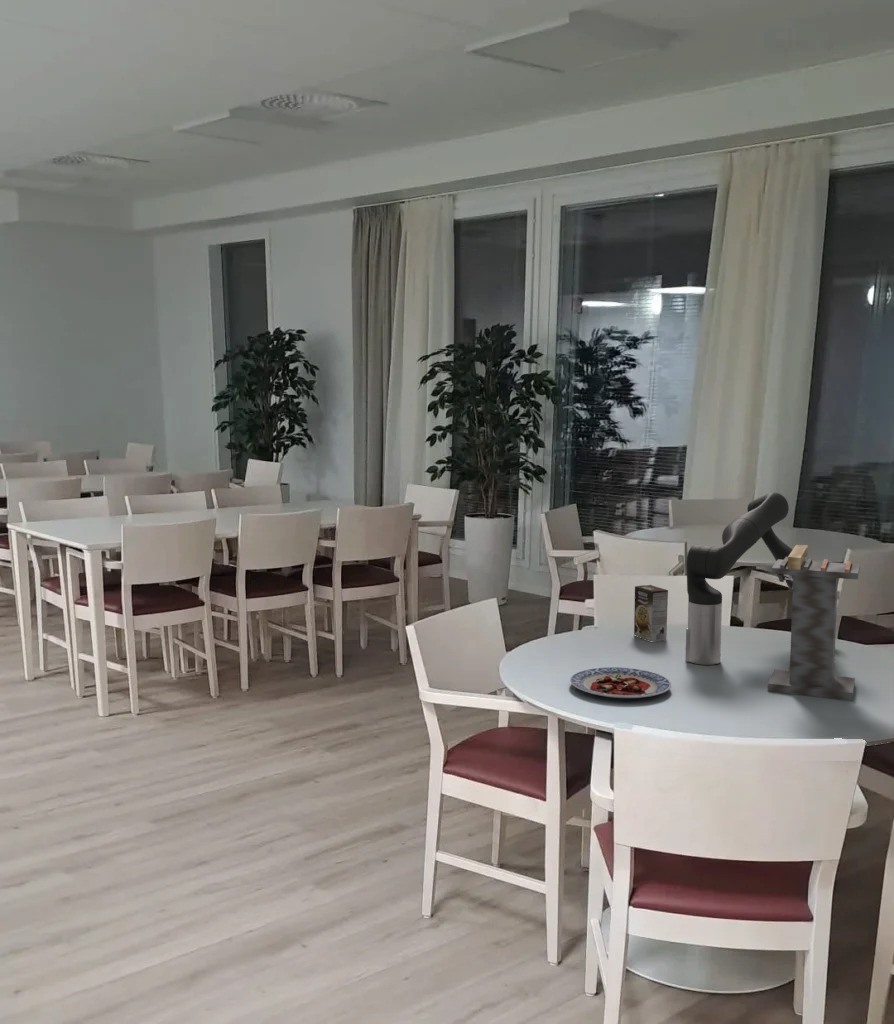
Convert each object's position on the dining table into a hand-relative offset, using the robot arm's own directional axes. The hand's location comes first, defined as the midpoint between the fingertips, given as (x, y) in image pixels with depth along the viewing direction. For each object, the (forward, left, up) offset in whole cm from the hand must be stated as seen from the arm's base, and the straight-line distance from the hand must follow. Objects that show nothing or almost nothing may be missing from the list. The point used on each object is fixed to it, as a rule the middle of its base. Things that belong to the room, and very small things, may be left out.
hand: (803, 566), depth 264 cm
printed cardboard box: (-45, +13, -28) cm, 55 cm away
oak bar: (0, -18, +4) cm, 18 cm away
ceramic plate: (-40, -42, -28) cm, 65 cm away
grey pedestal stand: (+5, -22, -28) cm, 36 cm away
